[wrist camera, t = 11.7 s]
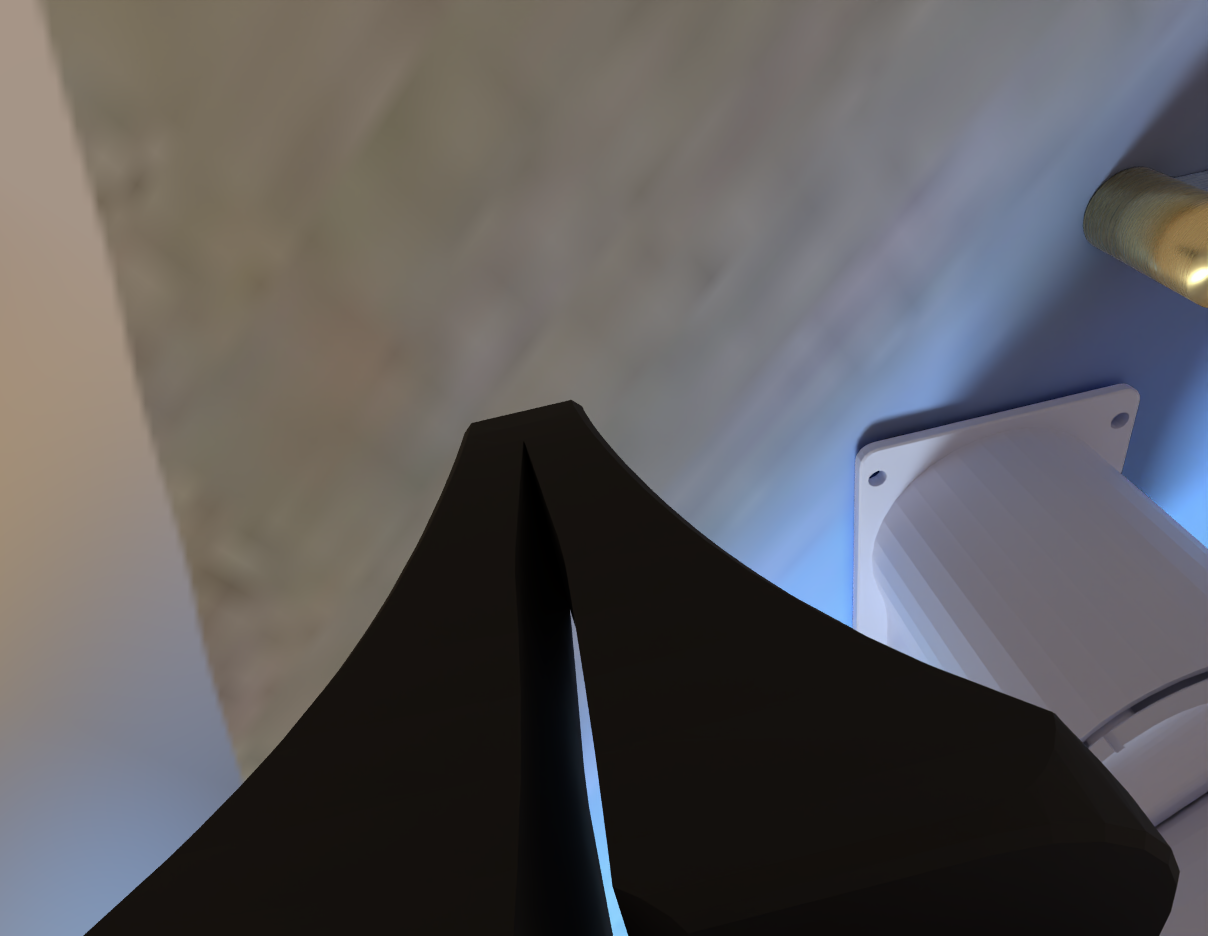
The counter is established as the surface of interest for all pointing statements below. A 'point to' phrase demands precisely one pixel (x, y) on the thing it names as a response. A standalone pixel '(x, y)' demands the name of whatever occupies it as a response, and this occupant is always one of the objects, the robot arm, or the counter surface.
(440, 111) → the counter surface
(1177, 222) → the frame
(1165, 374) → the counter surface
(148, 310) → the counter surface
